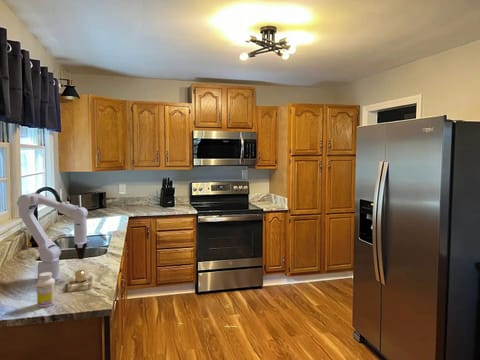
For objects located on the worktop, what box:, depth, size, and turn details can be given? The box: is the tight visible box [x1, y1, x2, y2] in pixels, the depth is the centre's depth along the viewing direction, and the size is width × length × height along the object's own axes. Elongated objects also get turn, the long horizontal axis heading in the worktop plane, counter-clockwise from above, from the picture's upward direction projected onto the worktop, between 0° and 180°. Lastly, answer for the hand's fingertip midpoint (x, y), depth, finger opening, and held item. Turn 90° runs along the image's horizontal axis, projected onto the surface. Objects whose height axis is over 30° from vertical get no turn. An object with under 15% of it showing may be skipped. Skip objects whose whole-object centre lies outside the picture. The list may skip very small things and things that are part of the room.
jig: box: [67, 275, 93, 293], centre depth 168 cm, size 10×12×2 cm
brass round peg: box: [74, 269, 86, 283], centre depth 167 cm, size 4×4×7 cm
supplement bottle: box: [36, 272, 57, 308], centre depth 147 cm, size 7×7×13 cm
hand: (81, 258), depth 178 cm, fingers closed
